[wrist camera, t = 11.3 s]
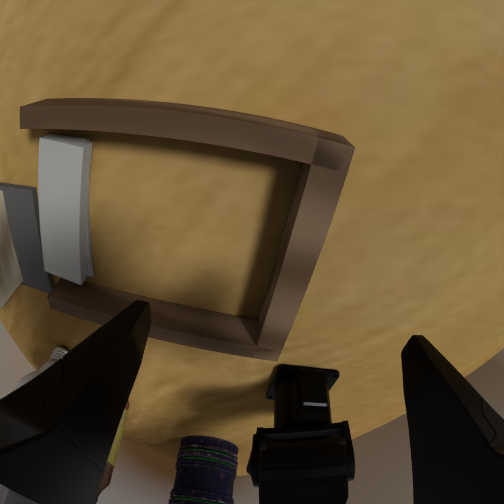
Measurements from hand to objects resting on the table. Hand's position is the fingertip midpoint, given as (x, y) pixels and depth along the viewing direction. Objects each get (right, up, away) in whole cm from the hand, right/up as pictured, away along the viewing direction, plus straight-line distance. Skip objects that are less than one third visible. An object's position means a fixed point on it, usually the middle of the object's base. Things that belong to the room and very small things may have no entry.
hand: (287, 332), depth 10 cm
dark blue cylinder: (-8, -30, +34) cm, 46 cm away
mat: (-25, +4, +13) cm, 29 cm away
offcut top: (-16, +6, +11) cm, 20 cm away
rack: (-8, +4, +12) cm, 15 cm away
